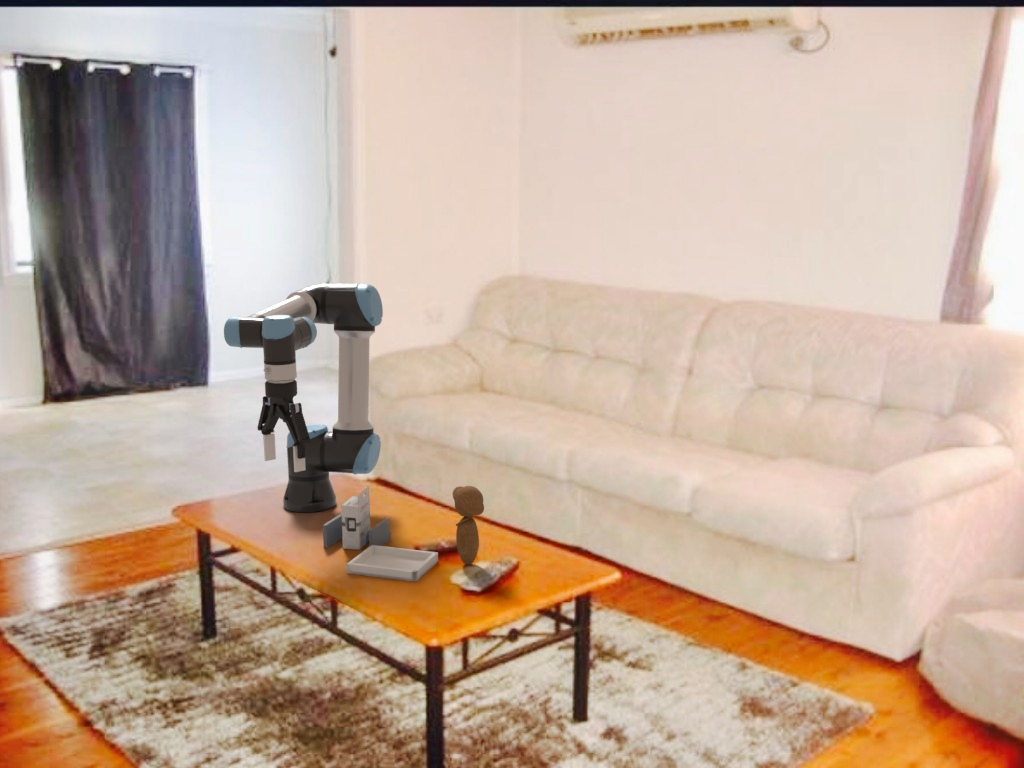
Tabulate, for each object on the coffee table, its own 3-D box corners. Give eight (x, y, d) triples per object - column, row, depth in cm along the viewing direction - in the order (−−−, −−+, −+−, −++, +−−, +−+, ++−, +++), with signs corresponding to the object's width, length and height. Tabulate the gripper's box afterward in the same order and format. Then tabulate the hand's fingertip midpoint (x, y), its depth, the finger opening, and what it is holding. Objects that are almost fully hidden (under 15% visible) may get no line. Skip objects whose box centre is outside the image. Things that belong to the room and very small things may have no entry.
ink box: (353, 538, 274) (351, 484, 271) (371, 539, 273) (369, 485, 270) (342, 548, 266) (340, 493, 263) (360, 550, 265) (358, 494, 262)
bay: (343, 533, 277) (342, 512, 276) (391, 539, 273) (390, 517, 272) (323, 547, 267) (322, 525, 266) (373, 553, 263) (372, 530, 262)
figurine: (465, 556, 260) (464, 479, 257) (490, 561, 257) (490, 483, 253) (447, 568, 253) (446, 489, 249) (472, 573, 249) (472, 493, 246)
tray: (372, 553, 262) (371, 544, 262) (438, 561, 257) (437, 552, 256) (346, 573, 249) (346, 563, 249) (415, 581, 244) (415, 572, 243)
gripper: (240, 375, 255) (245, 458, 259) (295, 389, 237) (299, 478, 241) (267, 371, 260) (271, 452, 264) (322, 385, 242) (326, 472, 246)
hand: (284, 465), depth 253 cm, fingers open, 13 cm apart
